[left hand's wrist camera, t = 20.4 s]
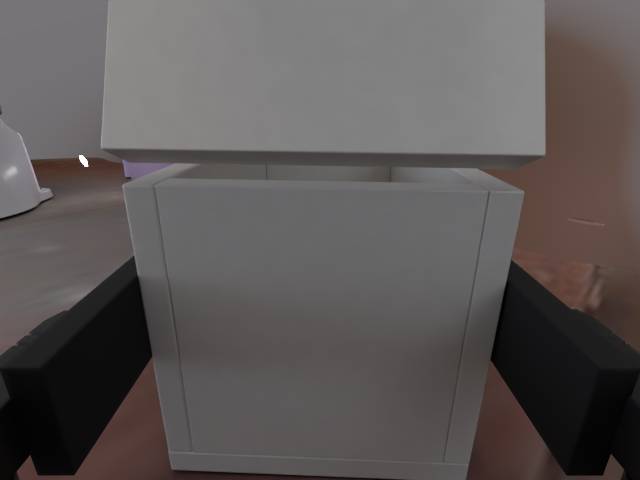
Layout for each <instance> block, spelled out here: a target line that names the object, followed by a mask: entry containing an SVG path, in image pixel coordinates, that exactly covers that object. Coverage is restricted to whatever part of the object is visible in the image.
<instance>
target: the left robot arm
mask: <svg viewBox="0 0 640 480" xmlns="http://www.w3.org/2000/svg"><path fill="white" fill-rule="evenodd" d="M151 357H152V351H151V345H150V340H149V335H148V329H147V324H146V318H145V313H144V307H143V302H142V296H141V290H140V285H139V279H138V273H137V267H136V262H135V256H133V257H132V258H131V259H130V260H128V261H127V262H126V263H125V264H124V265H122V266H121V267H120V268H119V269H118V270H116V271H115V272H114V273H113V274H112V275H110V276H109V277H108V278H107V279H106V280H105V281H103V282H102V283H101V284H100V285H99V286H97V287H96V288H95V289H94V290H93V291H91V292H90V293H89V294H88V295H87V296H85V297H84V298H83V299H82V300H81V301H79V302H78V303H77V304H76V305H75V306H73V307H72V308H71V309H70V310H69V311H63V312H61V313H59V314H57V315H55V316H53V317H51V318H49V319H47V320H45V321H43V322H42V323H41V324H40V325H38V326H37V327H36V328H35V329H33V330H32V331H31V332H30V333H29V335H28V336H25V337H23V338H22V339H21V340H20V341H18V342H17V343H16V346H12V347H11V348H10V349H8V350H7V351H6V352H5V353H3V354H2V355H1V356H0V480H19V477H18V475H17V472H16V471H17V470H18V469H19V468H20V467H21V465H22V464H23V463H24V462H25V460H26V459H27V458H28V457H29V456H30V455H31V458H32V461H33V463H34V466H35V469H36V472H37V474H38V475H75V473H76V472H77V470H78V469H79V467H80V466H81V464H82V463H83V461H84V460H85V458H86V456H87V455H88V453H89V452H90V450H91V449H92V447H93V446H94V444H95V443H96V441H97V440H98V438H99V437H100V435H101V434H102V432H103V431H104V429H105V428H106V426H107V424H108V423H109V421H110V420H111V418H112V417H113V415H114V414H115V412H116V411H117V409H118V408H119V406H120V405H121V403H122V402H123V400H124V399H125V397H126V396H127V394H128V392H129V391H130V389H131V388H132V386H133V385H134V383H135V382H136V380H137V379H138V377H139V376H140V374H141V373H142V371H143V370H144V368H145V367H146V365H147V364H148V362H149V360H150V359H151ZM491 361H492V363H493V364H494V366H495V367H496V369H497V370H498V372H499V373H500V375H501V376H502V378H503V379H504V381H505V383H506V384H507V386H508V387H509V389H510V390H511V392H512V393H513V395H514V396H515V398H516V399H517V401H518V402H519V404H520V405H521V407H522V408H523V410H524V411H525V413H526V415H527V416H528V418H529V419H530V421H531V422H532V424H533V425H534V427H535V428H536V430H537V431H538V433H539V434H540V436H541V437H542V439H543V440H544V442H545V443H546V445H547V447H548V448H549V450H550V451H551V453H552V454H553V456H554V457H555V459H556V460H557V462H558V463H559V465H560V466H561V468H562V469H563V471H564V472H565V474H566V475H603V474H604V471H605V468H606V465H607V462H608V460H609V457H610V454H612V455H613V456H614V458H615V459H616V460H617V461H618V463H619V464H620V465H621V466H622V467H623V469H624V472H623V475H622V477H621V480H640V353H638V352H637V351H636V350H635V349H633V348H632V347H631V346H630V345H626V344H625V342H624V341H623V340H622V339H621V338H619V337H618V336H617V335H616V334H612V331H611V330H609V329H608V328H607V327H606V326H604V325H603V324H602V323H600V322H599V321H598V320H597V319H595V318H593V317H591V316H589V315H587V314H585V313H583V312H581V311H579V310H577V309H570V308H568V307H567V306H566V305H565V304H564V303H562V302H561V301H560V300H559V299H558V298H556V297H555V296H554V295H553V294H552V293H550V292H549V291H548V290H547V289H546V288H544V287H543V286H542V285H541V284H540V283H538V282H537V281H536V280H535V279H534V278H532V277H531V276H530V275H529V274H528V273H526V272H525V271H524V270H523V269H522V268H520V267H519V266H518V265H517V264H516V263H514V262H513V261H512V260H511V261H510V266H509V271H508V276H507V281H506V286H505V291H504V296H503V301H502V306H501V311H500V315H499V320H498V325H497V330H496V335H495V340H494V345H493V350H492V355H491Z"/></svg>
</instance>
